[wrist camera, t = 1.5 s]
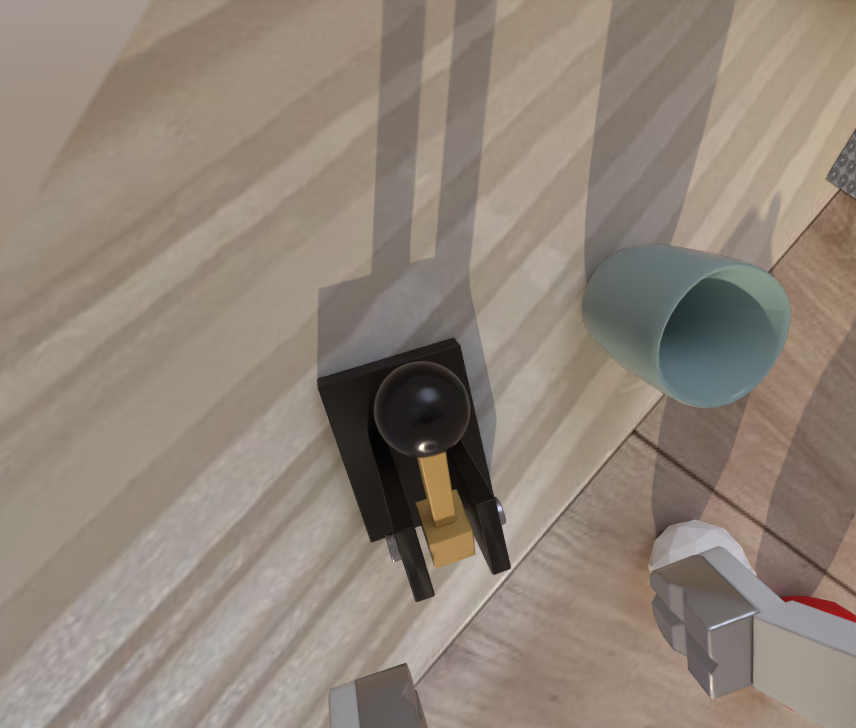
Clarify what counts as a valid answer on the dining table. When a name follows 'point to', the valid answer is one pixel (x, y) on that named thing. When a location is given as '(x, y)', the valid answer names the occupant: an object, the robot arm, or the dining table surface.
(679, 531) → the ornament
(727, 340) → the cup
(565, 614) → the dining table surface
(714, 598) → the robot arm
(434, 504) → the lever with ball knob
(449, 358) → the lever base
